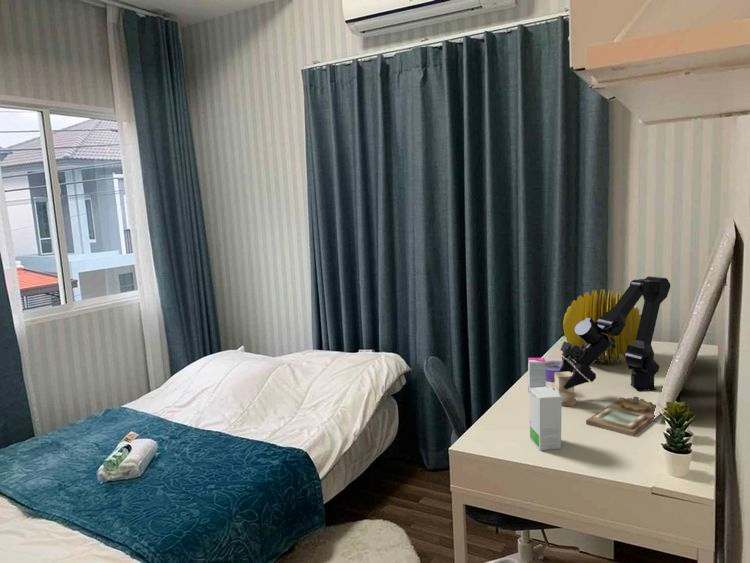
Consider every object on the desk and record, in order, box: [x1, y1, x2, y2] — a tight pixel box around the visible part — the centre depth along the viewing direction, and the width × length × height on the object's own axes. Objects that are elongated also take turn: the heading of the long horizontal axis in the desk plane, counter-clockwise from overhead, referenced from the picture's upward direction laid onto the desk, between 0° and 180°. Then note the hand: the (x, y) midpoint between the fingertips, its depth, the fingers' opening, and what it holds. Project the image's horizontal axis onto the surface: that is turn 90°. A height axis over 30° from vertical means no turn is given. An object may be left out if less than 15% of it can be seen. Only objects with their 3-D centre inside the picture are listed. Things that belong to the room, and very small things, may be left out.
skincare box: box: [528, 385, 563, 452], centre depth 157 cm, size 8×7×16 cm
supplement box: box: [527, 357, 547, 394], centre depth 200 cm, size 6×6×12 cm
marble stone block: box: [554, 371, 577, 408], centre depth 187 cm, size 7×7×10 cm
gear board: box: [585, 396, 657, 437], centre depth 172 cm, size 24×14×4 cm, turn 133°
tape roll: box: [545, 360, 563, 383], centre depth 212 cm, size 12×12×5 cm
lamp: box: [562, 288, 641, 365], centre depth 224 cm, size 30×30×30 cm
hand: (560, 383), depth 186 cm, fingers open, 9 cm apart
